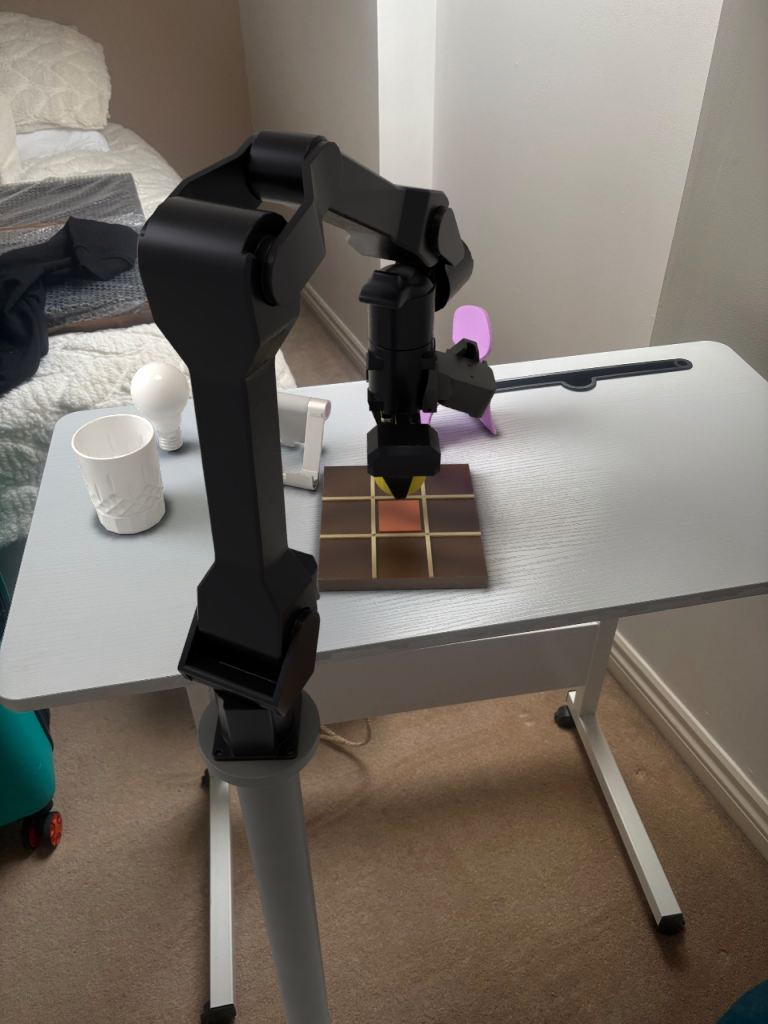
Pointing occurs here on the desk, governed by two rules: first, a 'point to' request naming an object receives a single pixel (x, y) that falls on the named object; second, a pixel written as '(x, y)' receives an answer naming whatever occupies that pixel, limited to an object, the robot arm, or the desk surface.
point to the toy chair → (477, 328)
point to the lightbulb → (162, 400)
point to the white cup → (121, 471)
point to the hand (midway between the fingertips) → (399, 479)
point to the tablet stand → (303, 434)
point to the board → (399, 533)
